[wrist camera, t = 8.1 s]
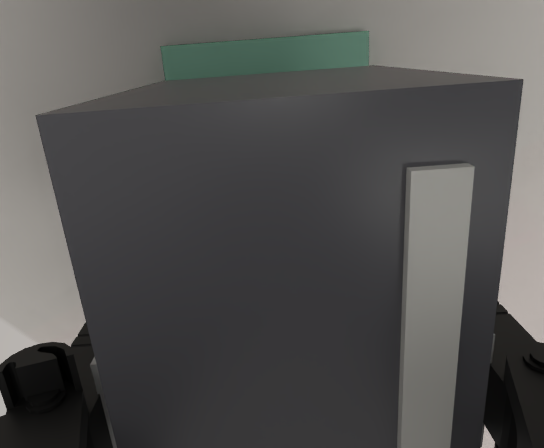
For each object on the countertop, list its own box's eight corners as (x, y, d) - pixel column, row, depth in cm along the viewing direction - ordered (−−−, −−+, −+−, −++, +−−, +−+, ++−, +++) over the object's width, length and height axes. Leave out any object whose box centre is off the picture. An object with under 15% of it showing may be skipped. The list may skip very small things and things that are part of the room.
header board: (163, 46, 18) (124, 43, 13) (365, 31, 18) (408, 22, 13) (206, 344, 23) (189, 430, 18) (364, 332, 23) (395, 415, 18)
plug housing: (164, 80, 13) (27, 117, 5) (373, 65, 13) (533, 80, 5) (212, 411, 17) (173, 697, 10) (370, 400, 17) (458, 677, 10)
